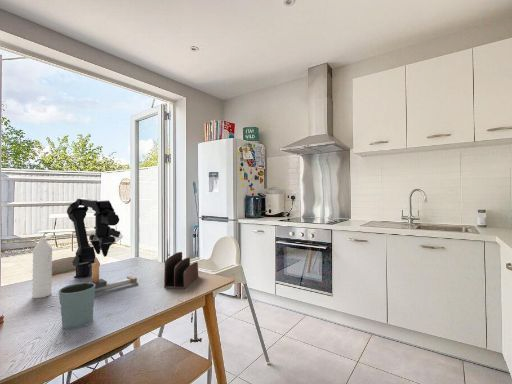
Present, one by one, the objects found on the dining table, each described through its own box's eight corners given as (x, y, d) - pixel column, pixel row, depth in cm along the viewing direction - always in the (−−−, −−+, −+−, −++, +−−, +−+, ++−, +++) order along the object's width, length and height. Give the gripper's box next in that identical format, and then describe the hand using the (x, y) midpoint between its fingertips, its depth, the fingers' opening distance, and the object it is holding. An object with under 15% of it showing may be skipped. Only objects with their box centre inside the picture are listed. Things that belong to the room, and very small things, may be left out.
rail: (129, 281, 130) (129, 275, 131) (138, 285, 125) (138, 278, 125) (68, 296, 111) (68, 289, 111) (74, 301, 105) (74, 294, 105)
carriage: (101, 283, 119) (101, 260, 120) (106, 285, 115) (106, 263, 116) (84, 287, 114) (84, 263, 114) (88, 290, 110) (89, 266, 110)
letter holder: (163, 289, 120) (163, 258, 120) (180, 276, 139) (180, 249, 140) (184, 289, 119) (184, 259, 119) (198, 276, 138) (198, 250, 139)
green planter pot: (101, 315, 92) (101, 282, 92) (83, 330, 82) (83, 292, 82) (72, 316, 92) (72, 282, 92) (50, 331, 82) (50, 293, 82)
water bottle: (46, 297, 109) (47, 238, 110) (28, 299, 108) (29, 239, 108) (57, 290, 118) (58, 235, 118) (41, 291, 116) (41, 236, 117)
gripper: (126, 224, 132) (125, 255, 132) (111, 222, 144) (111, 250, 144) (102, 226, 124) (101, 259, 123) (88, 224, 136) (88, 253, 135)
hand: (101, 255), depth 132 cm, fingers open, 9 cm apart
